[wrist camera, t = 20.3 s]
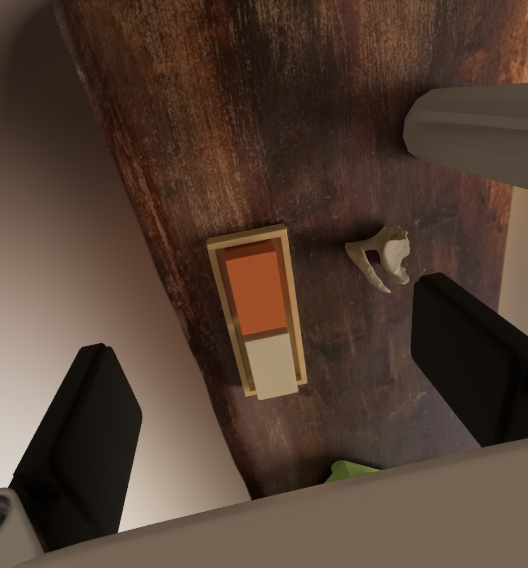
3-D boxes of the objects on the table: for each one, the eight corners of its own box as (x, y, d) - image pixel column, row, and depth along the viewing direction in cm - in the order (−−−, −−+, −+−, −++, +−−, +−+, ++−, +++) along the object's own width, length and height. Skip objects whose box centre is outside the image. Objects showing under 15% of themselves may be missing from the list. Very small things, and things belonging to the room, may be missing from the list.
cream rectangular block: (242, 324, 46) (244, 342, 42) (283, 315, 46) (288, 333, 42) (255, 380, 50) (258, 400, 47) (292, 371, 51) (298, 392, 47)
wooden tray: (206, 238, 40) (206, 244, 38) (283, 222, 41) (286, 228, 39) (244, 386, 52) (245, 396, 50) (304, 373, 52) (307, 383, 50)
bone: (432, 237, 42) (438, 303, 36) (391, 262, 47) (391, 324, 41) (379, 199, 40) (377, 263, 34) (342, 230, 45) (334, 291, 39)
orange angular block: (223, 247, 40) (225, 260, 37) (270, 237, 41) (275, 250, 37) (239, 317, 45) (242, 335, 42) (281, 309, 45) (287, 326, 42)
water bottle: (476, 93, 37) (865, 80, 15) (443, 169, 40) (722, 249, 18) (399, 70, 35) (718, 14, 13) (372, 151, 38) (587, 217, 16)
